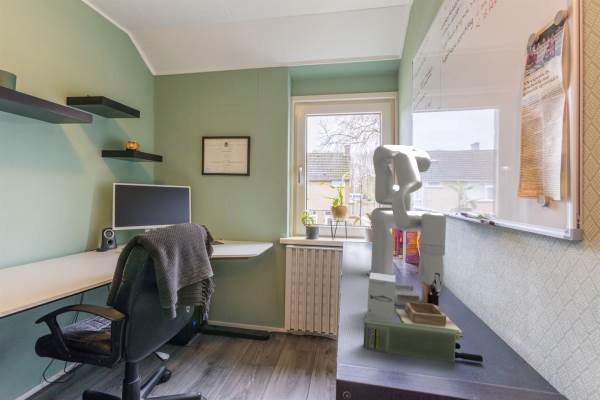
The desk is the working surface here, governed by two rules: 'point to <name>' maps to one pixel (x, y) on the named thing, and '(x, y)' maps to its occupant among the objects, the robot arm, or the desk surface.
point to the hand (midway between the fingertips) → (430, 302)
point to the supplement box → (381, 297)
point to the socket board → (425, 316)
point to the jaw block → (426, 293)
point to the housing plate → (405, 294)
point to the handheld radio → (414, 340)
